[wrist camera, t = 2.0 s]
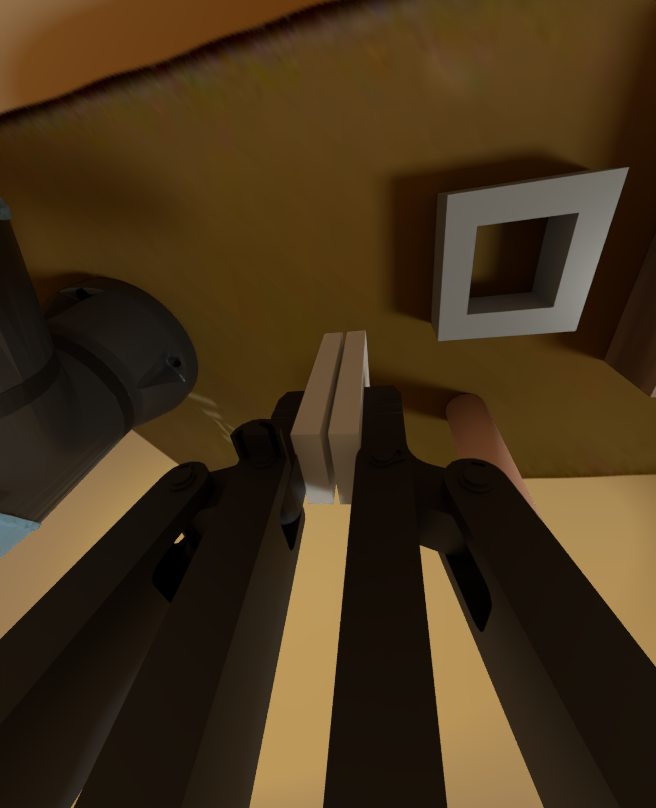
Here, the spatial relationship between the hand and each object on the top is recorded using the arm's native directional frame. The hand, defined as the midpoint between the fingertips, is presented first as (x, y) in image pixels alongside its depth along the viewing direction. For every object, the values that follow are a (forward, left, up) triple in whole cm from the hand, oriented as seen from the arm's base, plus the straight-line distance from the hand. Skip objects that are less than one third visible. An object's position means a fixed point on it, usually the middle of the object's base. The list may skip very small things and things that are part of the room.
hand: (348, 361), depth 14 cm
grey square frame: (+7, +8, -16) cm, 20 cm away
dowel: (+18, -2, -16) cm, 24 cm away
